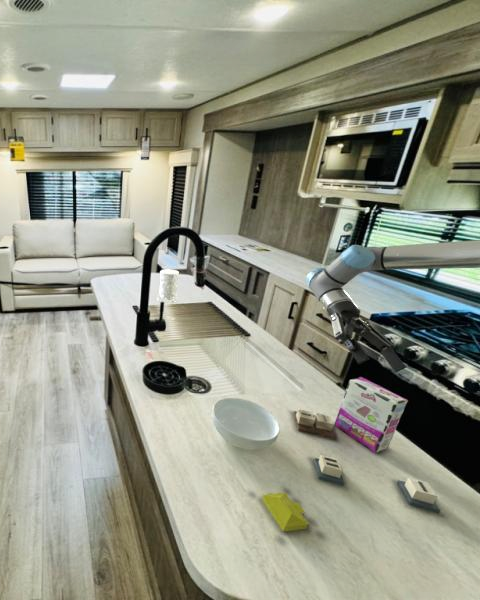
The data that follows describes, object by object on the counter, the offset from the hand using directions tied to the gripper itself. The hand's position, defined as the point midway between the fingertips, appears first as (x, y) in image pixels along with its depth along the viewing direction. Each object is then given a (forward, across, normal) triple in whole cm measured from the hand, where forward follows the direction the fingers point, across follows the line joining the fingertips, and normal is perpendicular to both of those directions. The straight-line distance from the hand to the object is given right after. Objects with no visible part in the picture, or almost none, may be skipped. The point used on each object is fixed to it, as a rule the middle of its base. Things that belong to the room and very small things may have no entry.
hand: (382, 365), depth 85 cm
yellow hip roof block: (+33, +32, -19) cm, 50 cm away
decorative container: (-85, +9, -73) cm, 112 cm away
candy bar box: (+13, -3, -17) cm, 22 cm away
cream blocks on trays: (+27, +8, -14) cm, 31 cm away
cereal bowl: (+13, +29, -29) cm, 43 cm away
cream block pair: (+9, +6, -22) cm, 25 cm away
